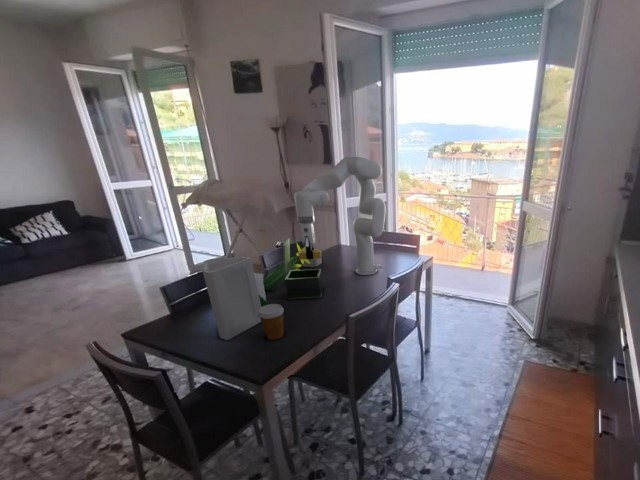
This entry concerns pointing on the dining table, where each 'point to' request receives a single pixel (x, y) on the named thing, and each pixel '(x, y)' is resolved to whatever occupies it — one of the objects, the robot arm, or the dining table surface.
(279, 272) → the daffodil flowers
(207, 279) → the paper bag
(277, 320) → the disposable coffee cup
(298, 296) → the waste bin
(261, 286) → the milk carton
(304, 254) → the yellow rectangular block
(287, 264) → the bin lid
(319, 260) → the lumpy-topped squat cylinder
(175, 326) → the dining table surface
